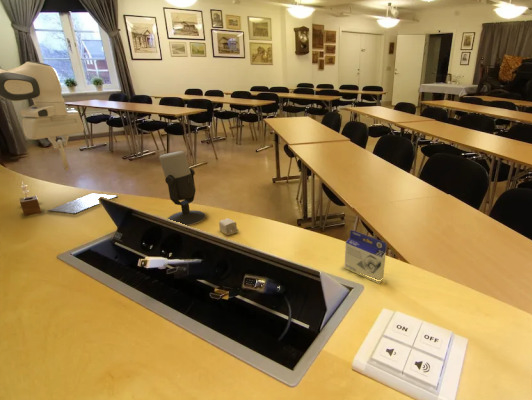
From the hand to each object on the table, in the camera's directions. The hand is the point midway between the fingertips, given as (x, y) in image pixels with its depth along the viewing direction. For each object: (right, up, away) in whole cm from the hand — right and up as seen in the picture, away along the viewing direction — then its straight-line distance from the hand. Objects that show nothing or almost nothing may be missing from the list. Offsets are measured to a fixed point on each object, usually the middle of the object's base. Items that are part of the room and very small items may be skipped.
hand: (60, 147), depth 122 cm
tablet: (+4, -22, +8) cm, 23 cm away
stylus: (0, -8, +3) cm, 9 cm away
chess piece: (-17, -22, +6) cm, 29 cm away
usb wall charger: (+69, -31, -14) cm, 77 cm away
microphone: (+50, -27, -3) cm, 57 cm away
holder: (-9, -25, -1) cm, 27 cm away
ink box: (+111, -40, -35) cm, 123 cm away
